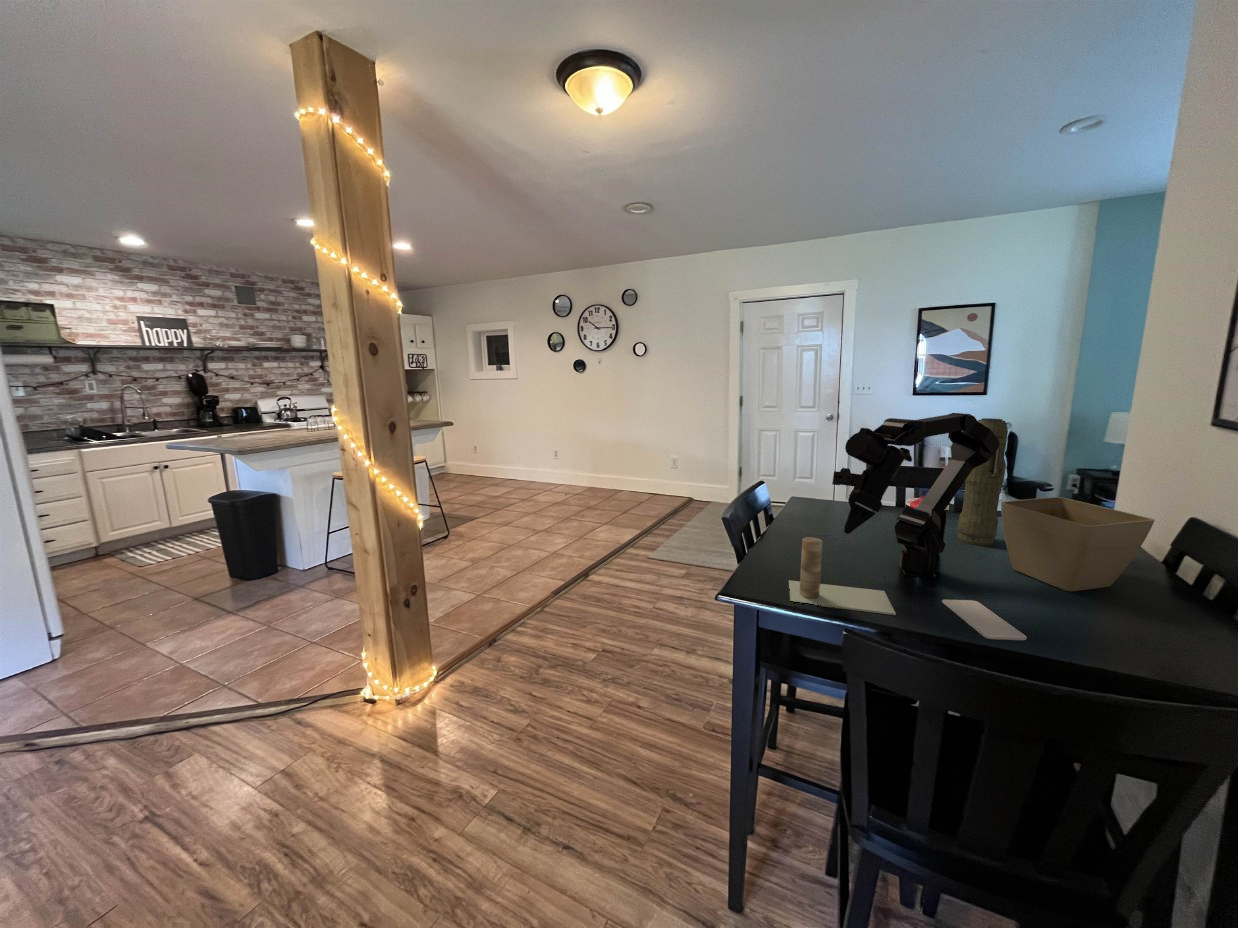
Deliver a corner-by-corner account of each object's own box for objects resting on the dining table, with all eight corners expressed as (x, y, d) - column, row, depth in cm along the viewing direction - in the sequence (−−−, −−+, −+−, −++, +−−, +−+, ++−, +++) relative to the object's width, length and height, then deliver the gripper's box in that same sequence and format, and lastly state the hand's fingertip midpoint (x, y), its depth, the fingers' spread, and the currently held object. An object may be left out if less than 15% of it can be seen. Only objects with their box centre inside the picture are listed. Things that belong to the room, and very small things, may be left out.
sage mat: (884, 592, 106) (884, 590, 106) (895, 615, 96) (895, 613, 96) (788, 581, 112) (788, 580, 112) (790, 602, 102) (790, 600, 102)
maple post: (818, 591, 106) (821, 538, 103) (819, 599, 102) (823, 544, 99) (799, 589, 107) (801, 536, 104) (799, 597, 103) (802, 542, 101)
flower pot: (1142, 592, 105) (1158, 518, 102) (1075, 601, 101) (1089, 525, 98) (1048, 559, 123) (1059, 496, 120) (989, 566, 119) (998, 501, 116)
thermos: (976, 533, 143) (992, 417, 136) (1006, 548, 131) (1025, 421, 124) (946, 533, 143) (960, 417, 136) (973, 548, 131) (991, 421, 125)
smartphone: (976, 600, 101) (1029, 638, 87) (975, 603, 101) (1028, 641, 87) (939, 599, 102) (986, 636, 87) (939, 602, 102) (986, 640, 87)
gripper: (846, 457, 119) (815, 511, 122) (845, 453, 102) (809, 516, 105) (891, 477, 115) (858, 534, 117) (898, 477, 98) (859, 542, 100)
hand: (846, 531), depth 110 cm, fingers open, 9 cm apart
